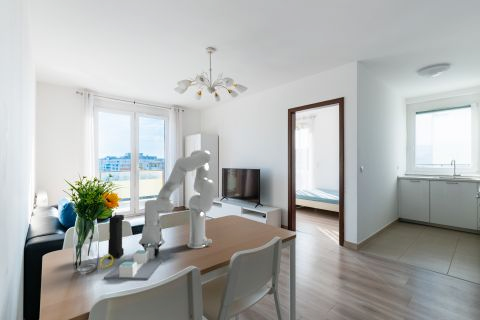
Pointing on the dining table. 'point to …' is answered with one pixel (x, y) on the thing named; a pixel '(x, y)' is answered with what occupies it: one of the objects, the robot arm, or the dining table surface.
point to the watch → (105, 257)
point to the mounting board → (139, 274)
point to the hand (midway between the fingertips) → (151, 255)
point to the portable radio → (115, 237)
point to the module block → (151, 251)
